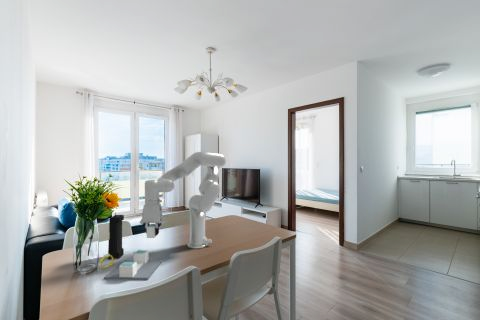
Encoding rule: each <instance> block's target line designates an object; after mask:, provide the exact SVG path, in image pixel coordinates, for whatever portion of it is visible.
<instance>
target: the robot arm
mask: <svg viewBox="0 0 480 320" xmlns="http://www.w3.org/2000/svg"><path fill="white" fill-rule="evenodd" d="M226 162H227V160H226V157H225V156H224V154H221V153H214V152H208V151H196V152H193V153H192V154H191V155H190V156H188V157H187V158H186V159H184V160H183V161H182V162H181V163H179V164H178V165H176V166H175V167H173V168H171V169H170V170H168V171H166V172H165V173H164V174H163V175H161V176H160V177H158V179H147V180H145V181H144V204H143V208H142V214H141V215H142V216H141V217H142V218H141V219H140V220H139V224H141V225H142V226H143V227H144V228H145V234H146V235H147V226H149V225H150V224H155V226H156V228H155V236H156V237H157V236H158V235H159V233H160V227H161V226H162V225H164V224H165V222H166V220H165V219H164V217H163V216H164V215H163V208H162V204H161V203H162V202H163V200H162V199H160V193H170V192H172V191H173V190H174V189H175V181H177V180H179V179H183V178H185V177H188V176H189V175H191V174H192V173H193V172H194V171H196V170H197V168H199V167H200V166H205V167H207V168H206V169H207V171H206V173H205V175H204V177H203V179H202V180H201V182H200V184H199V186H198V191H199V193H200V194H194V195H192V196H191V197H190V198H189V200H188V209H189V242H187V243H186V244H187V247H188V248H190V249H202V248H205V247H207V246H208V244H212V243H213V240H212V239H211V238H207V236H206V213H208V212H210V211H211V209H212V208H213V206H214V204H215V202H216V201H217V199H218V197H219V195H220V191H221V186H220V184H219V183H218V180H219V177H220V169H219V168H222V167H224V166H225V165H226Z"/></svg>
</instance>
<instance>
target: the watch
mask: <svg viewBox="0 0 480 320" xmlns="http://www.w3.org/2000/svg"><path fill="white" fill-rule="evenodd" d="M109 256H111V255H110V254H108V253H106V254H103V257H101V259H100V261H99V265H100V267H101V268H104V269H105V268H107V267H110V266H112V265H113V263H114V260H115V259H114V258H113V257H112V256H111V257H112V259H111V261H110V263H109V264H108V265H104V266H103V261H104V259H105V258H108V257H109Z"/></svg>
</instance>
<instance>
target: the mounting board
mask: <svg viewBox="0 0 480 320" xmlns="http://www.w3.org/2000/svg"><path fill="white" fill-rule="evenodd" d="M149 253H150V252H149V250H144V249H143V250H142V249H141V250H140V249H139V250H138V249H137V250H136V251H135V252H134V253H133V259H123V260H122V261H121V262H119V264H118V265H116V266H115V267H114V268H113V269H112V270H110V271H109V272H108V273H107V274H105V276H103V280H111V281H112V280H115V281H117V280H120V281H122V280H123V281H127V280H128V281H129V280H130V281H149V279H150V278H151V277H152V275H153V274H154V273H155V272H156V270H157V269H158V268H159V266H160V265H161V264H162V263H163V260H162V259H149V258H150V257H149V255H150V254H149Z"/></svg>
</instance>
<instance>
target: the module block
mask: <svg viewBox="0 0 480 320" xmlns="http://www.w3.org/2000/svg"><path fill="white" fill-rule="evenodd" d="M155 228H156V226H155V223H150V224H149V226H147V234H146V239H155V238H156V237H157V236H155Z"/></svg>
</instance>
